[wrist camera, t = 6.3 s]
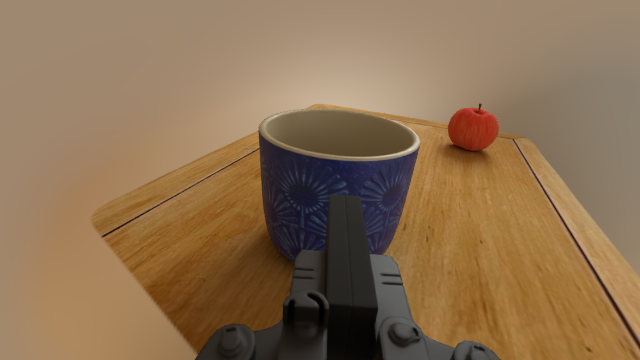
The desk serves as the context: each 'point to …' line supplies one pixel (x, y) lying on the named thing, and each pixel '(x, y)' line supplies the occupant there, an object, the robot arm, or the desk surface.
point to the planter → (333, 174)
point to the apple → (473, 129)
